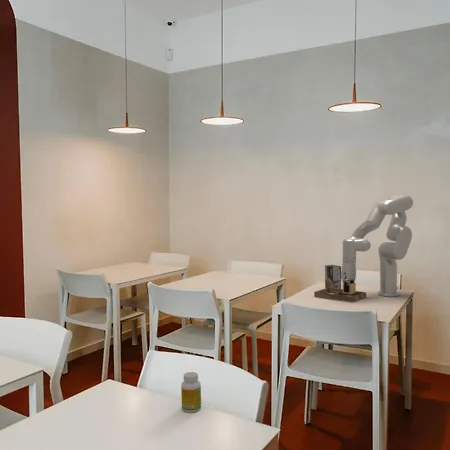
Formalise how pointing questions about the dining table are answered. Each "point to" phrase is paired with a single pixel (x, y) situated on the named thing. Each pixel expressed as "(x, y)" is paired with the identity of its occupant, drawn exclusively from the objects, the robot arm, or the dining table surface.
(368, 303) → the dining table surface
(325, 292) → the organiser
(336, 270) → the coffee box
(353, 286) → the marked cube
